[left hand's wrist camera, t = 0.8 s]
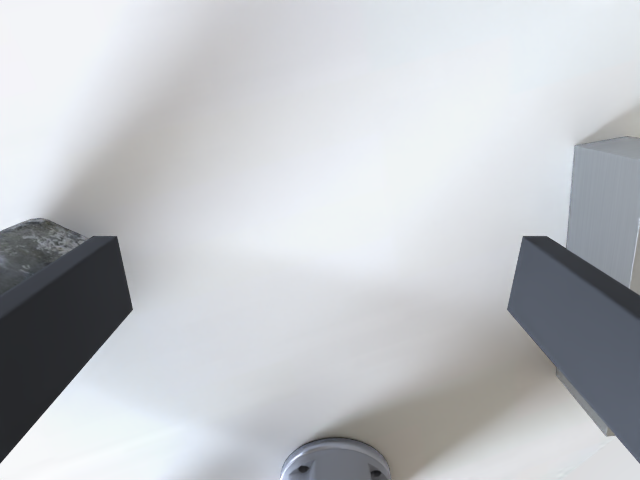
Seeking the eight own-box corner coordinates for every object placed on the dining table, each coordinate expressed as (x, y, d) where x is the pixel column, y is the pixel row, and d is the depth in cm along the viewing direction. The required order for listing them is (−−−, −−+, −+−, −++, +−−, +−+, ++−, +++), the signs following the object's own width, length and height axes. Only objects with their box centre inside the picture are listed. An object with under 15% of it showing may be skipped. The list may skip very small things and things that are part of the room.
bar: (596, 370, 45) (656, 430, 37) (555, 375, 45) (606, 436, 37) (627, 136, 35) (719, 150, 27) (574, 145, 35) (649, 162, 27)
